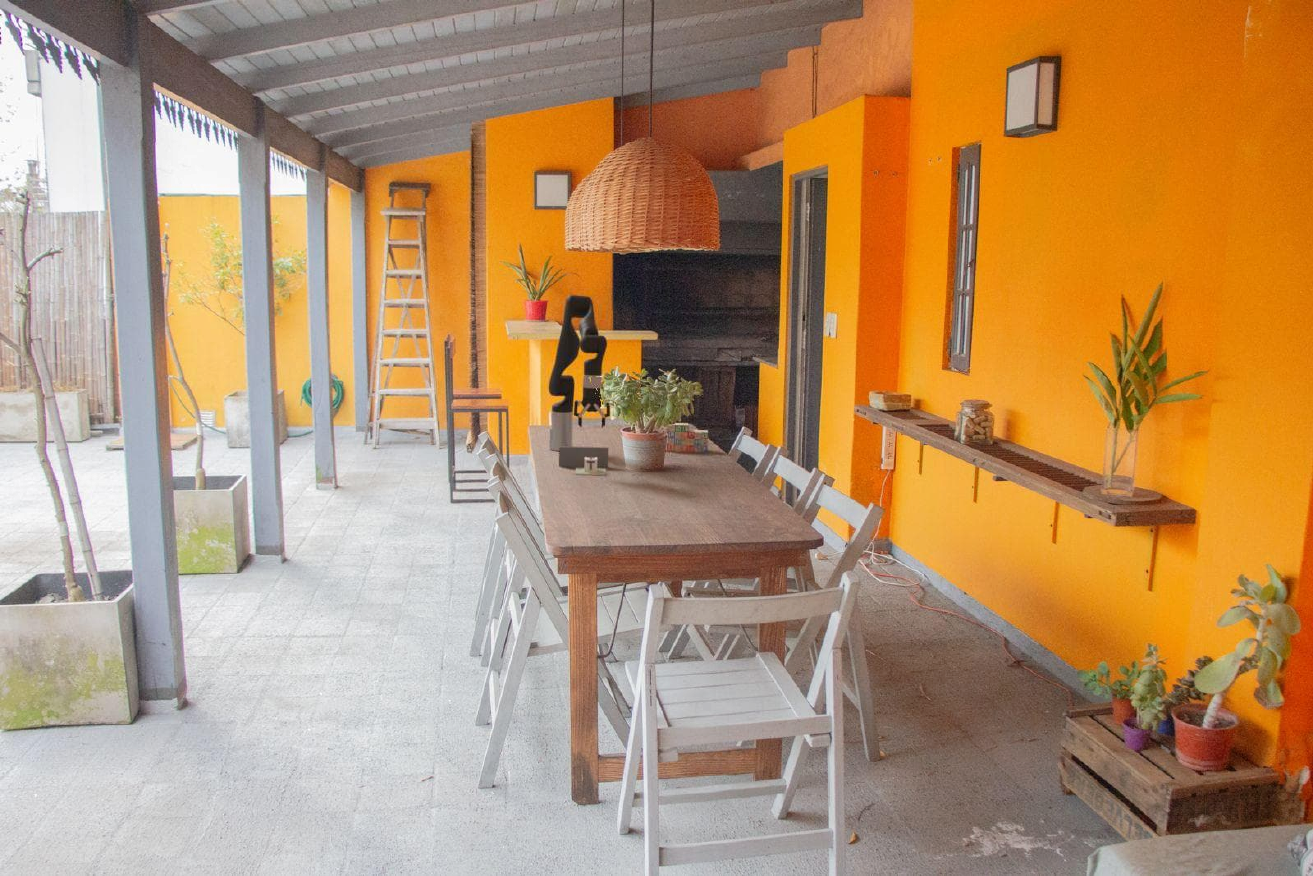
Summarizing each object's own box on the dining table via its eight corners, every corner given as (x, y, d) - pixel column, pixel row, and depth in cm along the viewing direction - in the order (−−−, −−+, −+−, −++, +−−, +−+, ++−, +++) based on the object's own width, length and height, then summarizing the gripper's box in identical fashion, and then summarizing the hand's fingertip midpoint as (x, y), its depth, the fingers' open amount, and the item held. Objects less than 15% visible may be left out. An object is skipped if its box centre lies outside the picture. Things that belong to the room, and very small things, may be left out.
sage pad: (575, 474, 397) (575, 473, 397) (575, 468, 408) (575, 467, 408) (605, 475, 397) (605, 473, 397) (605, 469, 409) (605, 468, 409)
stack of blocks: (707, 450, 462) (708, 423, 460) (707, 452, 456) (708, 425, 454) (660, 448, 462) (661, 422, 460) (660, 451, 456) (661, 424, 454)
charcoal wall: (558, 466, 412) (559, 447, 411) (558, 465, 414) (559, 446, 413) (607, 467, 413) (608, 448, 412) (607, 466, 415) (608, 447, 414)
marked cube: (584, 471, 400) (584, 459, 399) (584, 469, 405) (584, 456, 404) (597, 472, 400) (597, 459, 399) (597, 469, 406) (597, 456, 405)
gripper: (610, 385, 402) (609, 426, 404) (574, 384, 401) (573, 425, 403) (610, 387, 394) (609, 428, 397) (574, 386, 393) (573, 428, 396)
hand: (591, 427), depth 400 cm, fingers open, 8 cm apart
